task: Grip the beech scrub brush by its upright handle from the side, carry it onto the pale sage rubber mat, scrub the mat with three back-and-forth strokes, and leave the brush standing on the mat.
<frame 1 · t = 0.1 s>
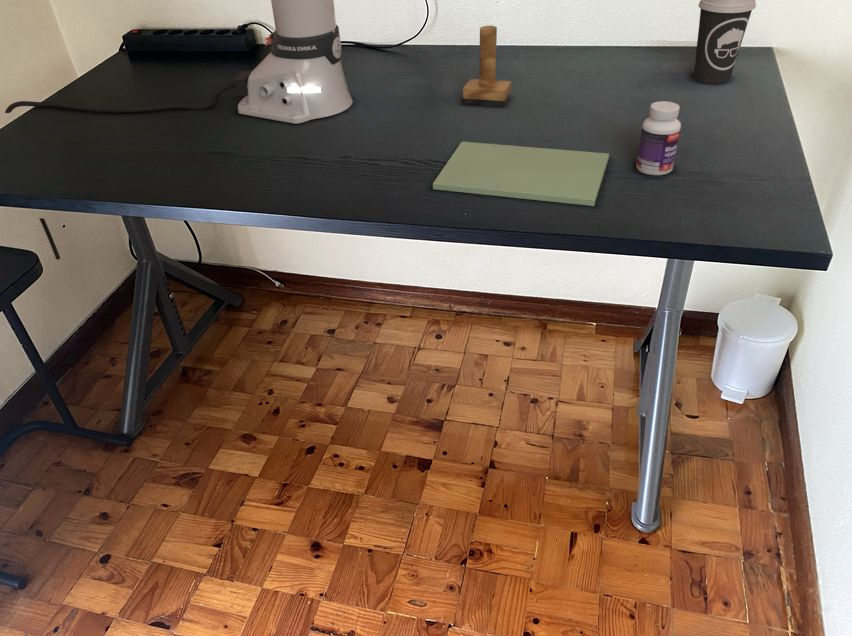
coffee cup: (711, 79, 139), on the table
scrub brush: (487, 101, 138), on the table
mat: (522, 174, 113), on the table
pill bottle: (654, 170, 111), on the table
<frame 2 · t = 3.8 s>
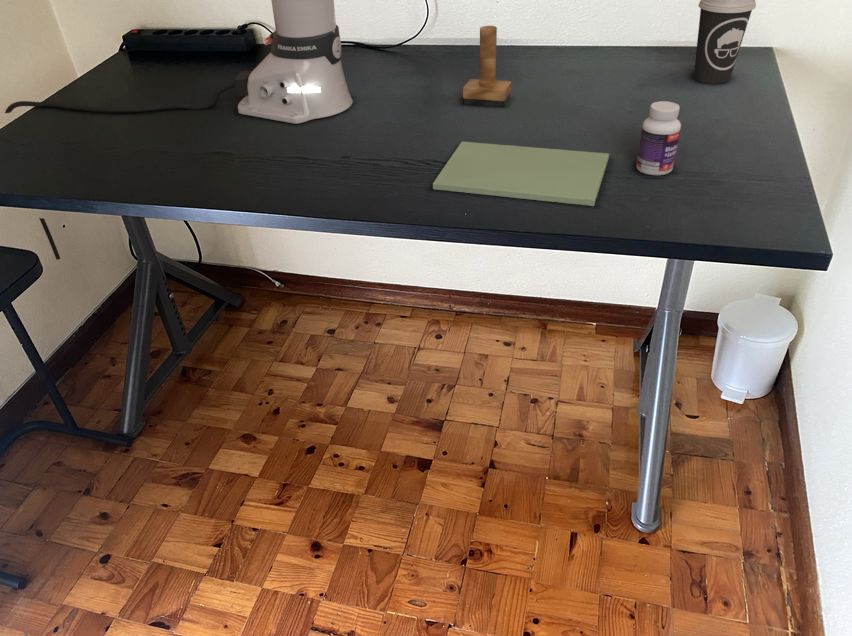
nothing on the table moved.
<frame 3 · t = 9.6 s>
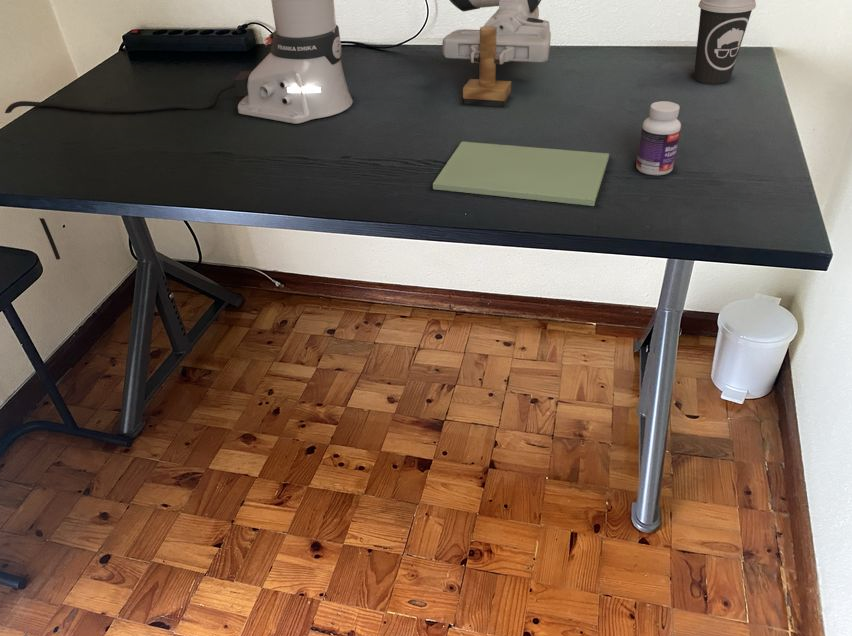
hand: (486, 59, 132), 8 cm above the table, tool horizontal, fingers closed on scrub brush, 3 cm apart
scrub brush: (487, 101, 138), on the table, touching gripper
everything else where it was.
when the fingers open (8 cm above the table, at t = 24.2 s): scrub brush stays where it is, resting on mat.
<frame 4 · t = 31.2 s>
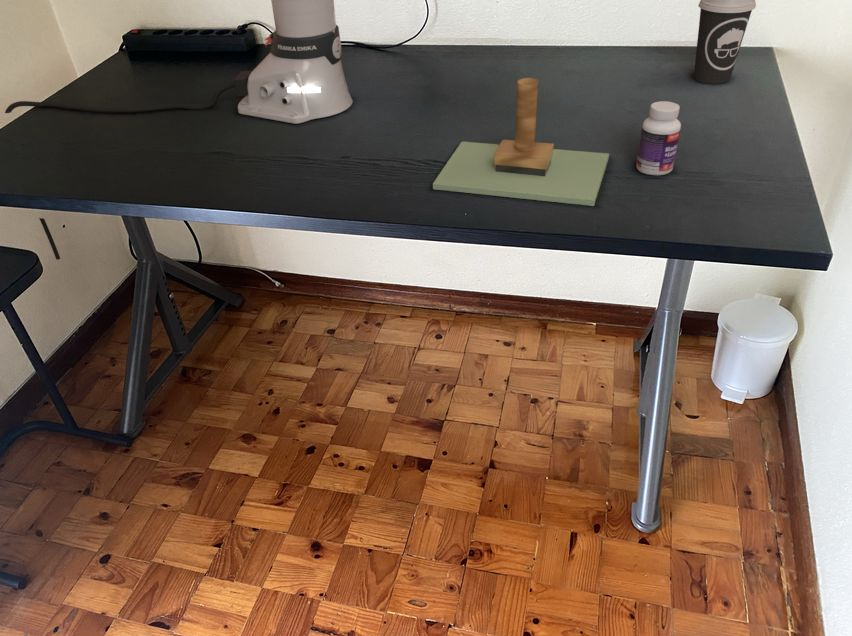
scrub brush: (523, 167, 113), point 1 cm above the table, touching mat
everything else where it was.
at the end: scrub brush inside the target area on the mat (0.2 cm from its centre), point 1.0 cm above the mat's base; scrub brush tilted 0°; the gripper is holding nothing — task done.
